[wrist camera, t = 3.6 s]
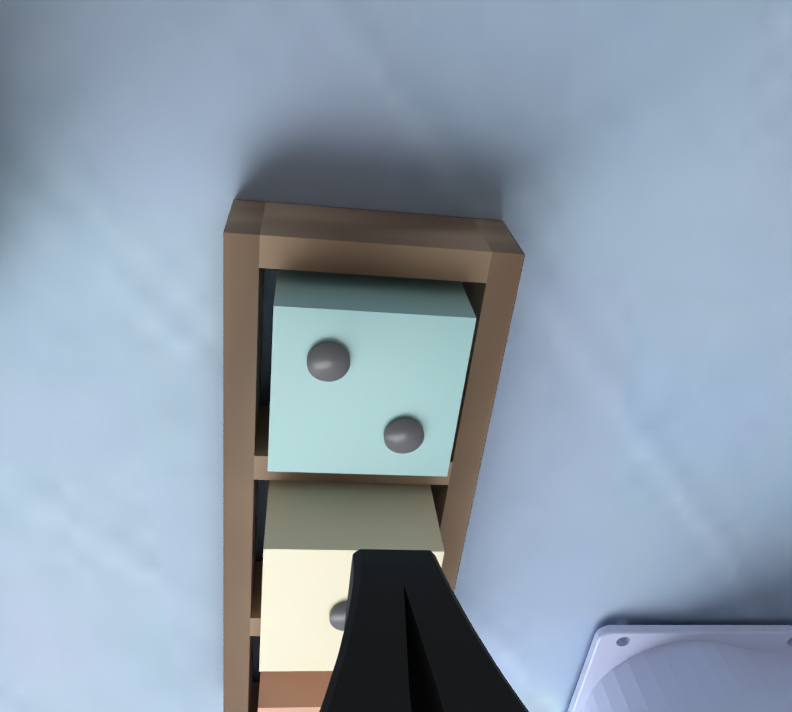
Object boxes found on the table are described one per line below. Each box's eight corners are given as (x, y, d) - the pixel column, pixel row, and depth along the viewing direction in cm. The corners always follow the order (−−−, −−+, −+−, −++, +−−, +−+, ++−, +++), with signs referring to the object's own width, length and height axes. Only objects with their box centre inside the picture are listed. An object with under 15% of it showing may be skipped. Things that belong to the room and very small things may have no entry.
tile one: (427, 473, 22) (445, 556, 19) (408, 585, 24) (421, 674, 21) (270, 468, 21) (263, 553, 18) (265, 584, 23) (258, 675, 20)
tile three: (403, 619, 25) (415, 710, 22) (388, 707, 27) (397, 799, 24) (264, 619, 24) (257, 712, 21) (260, 709, 26) (254, 804, 23)
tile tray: (502, 220, 20) (525, 254, 17) (412, 693, 29) (419, 752, 27) (233, 199, 19) (223, 232, 16) (230, 696, 28) (223, 757, 26)
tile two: (453, 264, 20) (477, 320, 17) (430, 408, 22) (448, 480, 19) (279, 252, 19) (273, 308, 16) (273, 401, 21) (267, 474, 18)
